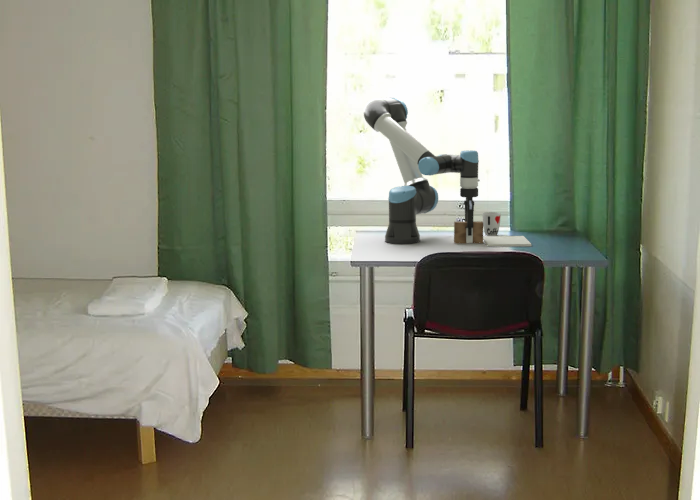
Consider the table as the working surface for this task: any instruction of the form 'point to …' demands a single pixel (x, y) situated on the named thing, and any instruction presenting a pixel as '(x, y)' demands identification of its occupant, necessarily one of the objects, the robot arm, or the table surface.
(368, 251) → the table surface
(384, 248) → the table surface
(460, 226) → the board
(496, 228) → the cup
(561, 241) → the table surface
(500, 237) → the mat
